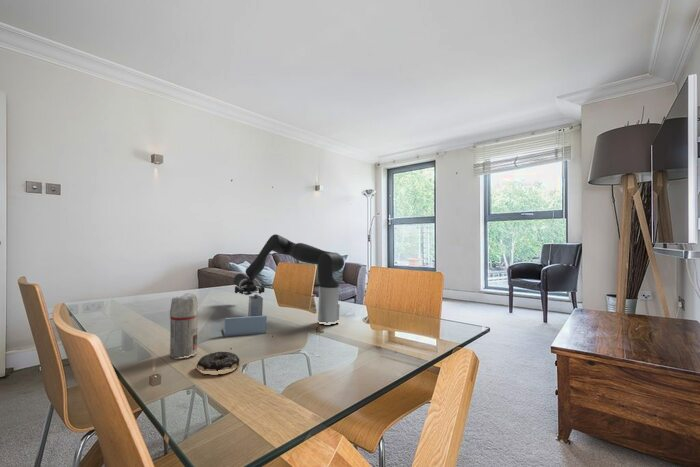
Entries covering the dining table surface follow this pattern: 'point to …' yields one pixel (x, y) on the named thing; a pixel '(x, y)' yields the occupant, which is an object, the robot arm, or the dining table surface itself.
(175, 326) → the spray can
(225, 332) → the bracket
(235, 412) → the dining table surface
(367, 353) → the dining table surface
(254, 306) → the block
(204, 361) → the donut
